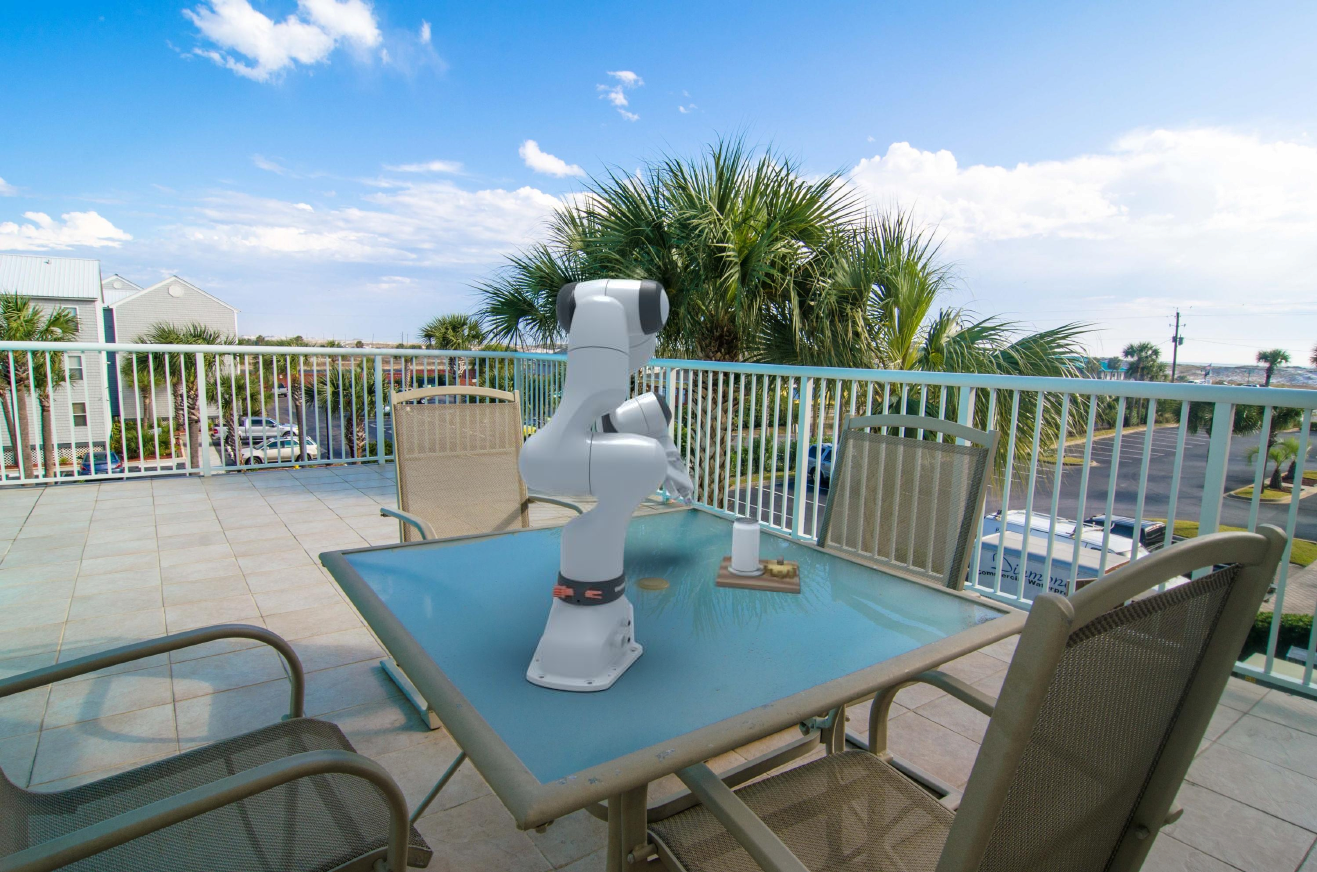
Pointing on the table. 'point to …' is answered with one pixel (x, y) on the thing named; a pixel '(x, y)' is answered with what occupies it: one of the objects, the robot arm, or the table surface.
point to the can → (745, 544)
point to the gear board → (761, 576)
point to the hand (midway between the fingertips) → (683, 502)
